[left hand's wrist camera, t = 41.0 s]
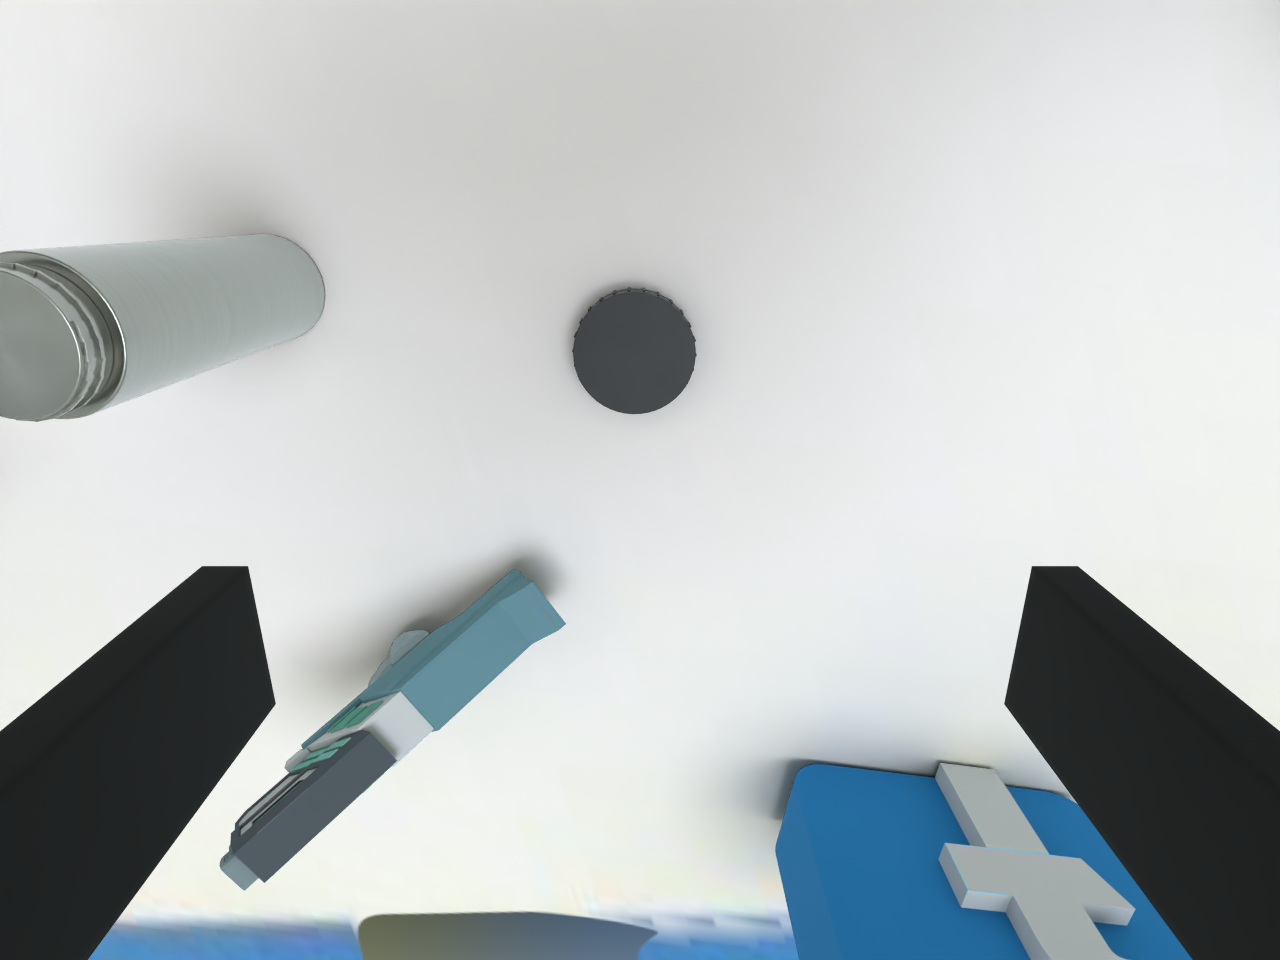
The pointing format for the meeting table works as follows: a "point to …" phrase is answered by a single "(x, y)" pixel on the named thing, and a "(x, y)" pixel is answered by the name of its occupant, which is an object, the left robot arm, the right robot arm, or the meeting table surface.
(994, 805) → the logo
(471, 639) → the toy gun
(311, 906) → the meeting table surface
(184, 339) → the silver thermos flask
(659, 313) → the lid
